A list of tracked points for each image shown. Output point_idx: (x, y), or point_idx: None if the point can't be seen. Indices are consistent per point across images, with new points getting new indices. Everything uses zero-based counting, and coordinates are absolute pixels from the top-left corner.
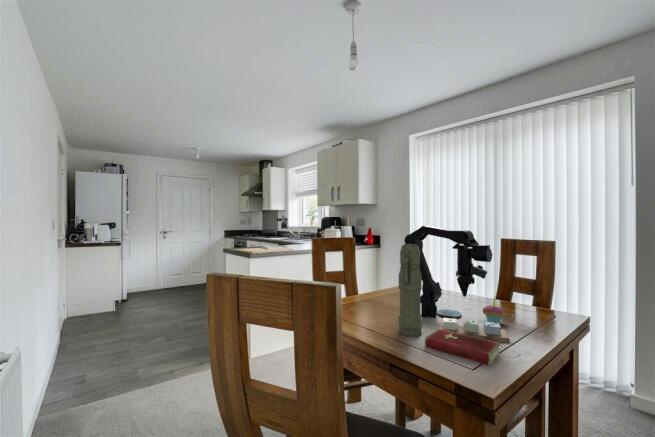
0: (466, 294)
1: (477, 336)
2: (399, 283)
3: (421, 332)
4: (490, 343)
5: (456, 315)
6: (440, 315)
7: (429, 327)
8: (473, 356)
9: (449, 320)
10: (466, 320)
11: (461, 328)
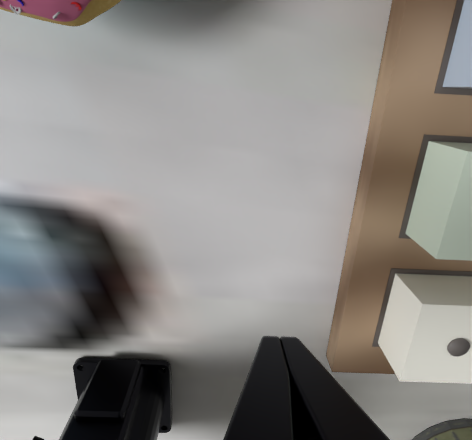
0: (320, 363)
1: None
2: None
3: (469, 425)
4: None
5: (28, 233)
6: (84, 331)
7: (355, 388)
8: None
9: (465, 351)
10: (457, 238)
11: None
